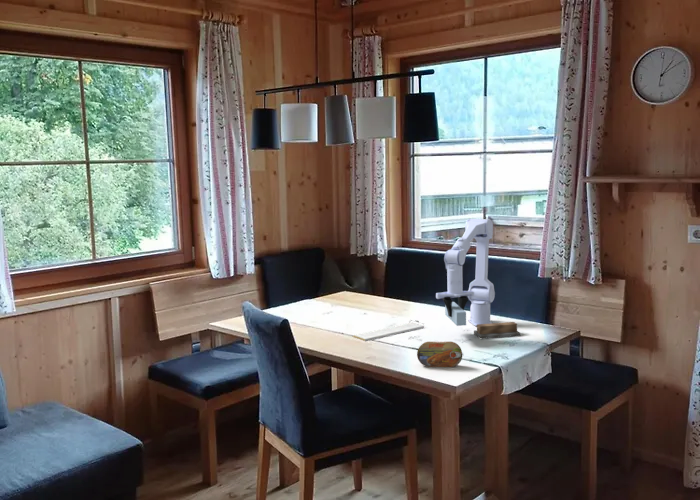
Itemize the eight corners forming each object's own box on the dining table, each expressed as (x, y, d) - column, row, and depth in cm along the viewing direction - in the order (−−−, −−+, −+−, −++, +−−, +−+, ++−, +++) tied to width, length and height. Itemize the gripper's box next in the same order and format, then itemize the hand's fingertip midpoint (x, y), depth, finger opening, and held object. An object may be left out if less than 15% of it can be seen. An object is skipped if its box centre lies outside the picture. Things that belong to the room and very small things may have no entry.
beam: (445, 314, 268) (445, 302, 267) (454, 314, 268) (453, 301, 268) (456, 325, 250) (456, 312, 250) (466, 325, 251) (466, 312, 250)
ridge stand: (480, 338, 259) (480, 328, 258) (473, 333, 267) (473, 323, 266) (520, 335, 261) (520, 325, 260) (512, 330, 269) (512, 320, 268)
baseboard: (350, 337, 269) (365, 342, 261) (350, 330, 269) (364, 335, 261) (408, 324, 286) (424, 329, 278) (408, 318, 286) (424, 322, 278)
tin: (417, 366, 228) (416, 342, 227) (417, 363, 231) (417, 339, 230) (462, 367, 225) (462, 343, 224) (462, 364, 228) (462, 340, 227)
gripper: (439, 284, 252) (439, 319, 254) (476, 281, 254) (476, 317, 256) (434, 280, 259) (434, 315, 261) (470, 278, 261) (471, 312, 263)
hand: (455, 315), depth 259 cm, fingers closed on beam, 4 cm apart
